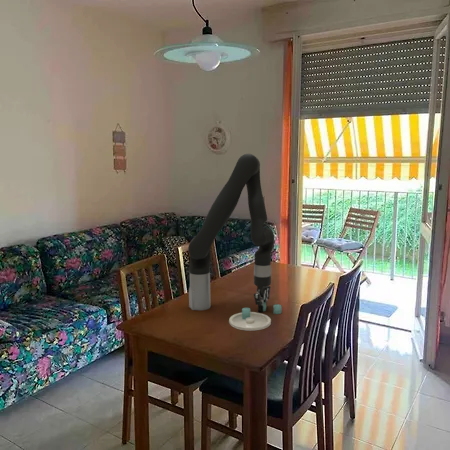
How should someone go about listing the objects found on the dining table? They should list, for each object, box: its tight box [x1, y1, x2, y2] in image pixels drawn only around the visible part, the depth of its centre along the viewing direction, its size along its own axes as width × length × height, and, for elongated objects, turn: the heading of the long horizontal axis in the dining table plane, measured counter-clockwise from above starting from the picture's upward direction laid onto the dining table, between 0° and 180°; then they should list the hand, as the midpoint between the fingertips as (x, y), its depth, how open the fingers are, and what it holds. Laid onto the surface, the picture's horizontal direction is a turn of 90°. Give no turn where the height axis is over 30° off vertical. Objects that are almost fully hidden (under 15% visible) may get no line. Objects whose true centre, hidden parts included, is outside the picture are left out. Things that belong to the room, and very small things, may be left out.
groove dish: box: [228, 311, 272, 332], centre depth 176 cm, size 17×17×2 cm
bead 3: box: [272, 303, 282, 315], centre depth 186 cm, size 4×4×4 cm
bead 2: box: [263, 302, 267, 312], centre depth 189 cm, size 4×4×4 cm
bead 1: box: [241, 307, 251, 320], centre depth 180 cm, size 4×4×4 cm
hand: (262, 311), depth 189 cm, fingers closed on bead 2, 3 cm apart
